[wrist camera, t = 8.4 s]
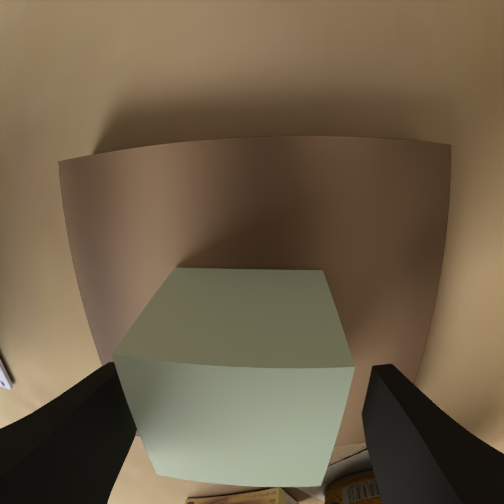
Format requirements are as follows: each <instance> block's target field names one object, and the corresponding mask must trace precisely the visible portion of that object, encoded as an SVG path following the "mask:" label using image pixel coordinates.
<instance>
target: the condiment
mask: <svg viewBox="0 0 504 504" xmlns="http://www.w3.org/2000/svg"><path fill="white" fill-rule="evenodd" d="M326 480H328V482H327V483H328V484H326V485H325V483H326ZM295 488H297V489H299V490H300V491H302V492H304V493H306V494H308V495H309V496H312V497H314V498H316V499H319V500H321V501H323V502H325V504H382V501H381V497H380V493H379V489H378V486H377V482H376V478H375V475H374V471H373V467H372V464H371V460H370V456H369V453H368V450H365V451H363V452H361V453H359V454H356V455H354V456H352V457H350V458H348V459H344V460H342V461H340V462H337V463H335V464H333V465H331V466H328V467H327V470H326V473H325V476H324V478H323V481H322V484H321V486H310V487H295Z"/></svg>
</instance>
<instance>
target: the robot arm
mask: <svg viewBox="0 0 504 504" xmlns="http://www.w3.org/2000/svg"><path fill="white" fill-rule="evenodd" d="M0 386H2V387H4V388H7V389H11V388H12V387H13V384H12V382H11V380H10V378H9V376H8V374H7V372H6V370H5V367H4V365H3V363H2V361H1V359H0ZM362 421H363V428H364V435H365V441H366V445H367V449H368V453H369V456H370V460H371V464H372V467H373V471H374V475H375V478H376V482H377V486H378V489H379V493H380V497H381V501H382V504H504V454H503V453H501V452H500V451H498V450H496V449H494V448H493V447H491V446H490V445H488V444H486V443H485V442H483V441H482V440H480V439H479V438H477V437H476V436H474V435H473V434H471V433H470V432H469V431H467V430H466V429H465V428H463V427H462V426H461V425H459V424H458V423H457V422H456V421H454V420H453V419H452V418H451V417H449V416H448V415H447V414H446V413H445V412H443V411H442V410H441V409H440V408H439V407H438V406H437V405H435V404H434V403H433V402H432V401H431V400H430V399H429V398H428V397H427V396H426V395H425V394H423V393H422V392H421V391H420V390H419V389H418V388H417V387H416V386H415V385H414V384H413V383H412V382H411V381H410V380H409V379H408V378H407V377H406V376H405V375H404V374H403V373H401V372H400V371H399V370H398V369H397V368H396V367H395V366H394V365H393V364H383V365H374V366H372V369H371V374H370V379H369V384H368V388H367V393H366V397H365V401H364V406H363V410H362ZM136 431H137V427H136V424H135V422H134V419H133V417H132V414H131V411H130V408H129V406H128V403H127V400H126V397H125V394H124V391H123V388H122V385H121V382H120V379H119V376H118V373H117V370H116V367H115V363H114V362H108V363H107V364H105V365H103V366H102V367H100V368H99V369H97V370H96V371H94V372H93V373H91V374H90V375H89V376H87V377H86V378H84V379H83V380H82V381H80V382H79V383H77V384H76V385H74V386H73V387H71V388H70V389H69V390H67V391H66V392H64V393H63V394H61V395H60V396H58V397H57V398H55V399H54V400H52V401H50V402H49V403H47V404H46V405H44V406H42V407H41V408H39V409H38V410H36V411H34V412H33V413H31V414H29V415H27V416H26V417H24V418H22V419H20V420H18V421H16V422H14V423H12V424H10V425H8V426H5V427H3V428H1V429H0V504H107V502H108V499H109V496H110V493H111V491H112V488H113V486H114V483H115V481H116V479H117V477H118V474H119V472H120V470H121V467H122V465H123V463H124V461H125V458H126V456H127V454H128V452H129V449H130V447H131V445H132V442H133V440H134V438H135V435H136Z"/></svg>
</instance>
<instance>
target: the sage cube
mask: <svg viewBox="0 0 504 504" xmlns="http://www.w3.org/2000/svg"><path fill="white" fill-rule="evenodd" d="M112 357H113V360H114V363H115V367H116V370H117V373H118V376H119V379H120V382H121V385H122V388H123V391H124V394H125V397H126V400H127V403H128V406H129V408H130V411H131V414H132V417H133V419H134V422H135V424H136V427H137V430H138V432H139V435H140V437H141V439H142V442H143V444H144V447H145V449H146V451H147V454H148V456H149V458H150V460H151V463H152V465H153V467H154V469H155V471H156V474H157V475H161V476H166V477H172V478H178V479H184V480H191V481H198V482H206V483H215V484H225V485H238V486H255V487H310V486H321V484H322V481H323V478H324V476H325V473H326V470H327V467H328V464H329V461H330V457H331V454H332V451H333V448H334V445H335V441H336V438H337V435H338V431H339V428H340V424H341V421H342V417H343V414H344V410H345V406H346V402H347V398H348V394H349V390H350V386H351V382H352V378H353V374H354V369H355V365H354V362H353V359H352V355H351V352H350V349H349V346H348V343H347V340H346V337H345V334H344V331H343V327H342V324H341V321H340V318H339V315H338V312H337V309H336V307H335V304H334V301H333V298H332V295H331V292H330V289H329V286H328V283H327V281H326V278H325V275H324V272H323V270H269V269H217V268H178V267H175V268H174V269H173V270H172V272H171V273H170V274H169V276H168V277H167V278H166V280H165V281H164V282H163V284H162V285H161V286H160V288H159V289H158V290H157V292H156V293H155V295H154V296H153V297H152V299H151V300H150V301H149V303H148V304H147V305H146V307H145V308H144V310H143V311H142V312H141V314H140V315H139V317H138V318H137V319H136V321H135V322H134V323H133V325H132V326H131V328H130V329H129V331H128V332H127V333H126V335H125V336H124V338H123V339H122V340H121V342H120V343H119V345H118V346H117V348H116V349H115V350H114V352H113V353H112Z"/></svg>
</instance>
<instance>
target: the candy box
mask: <svg viewBox="0 0 504 504" xmlns="http://www.w3.org/2000/svg"><path fill="white" fill-rule="evenodd" d="M185 504H299V503H298V502H297V501H296V500H294V499H293V498H292V497H291V496H290V495H289V494H287V493H286V492H285V491H284V490H283V489H282V488H281V487H276V488H272V489H267V490H262V491H256V492H250V493H243V494H236V495H229V496H219V497H208V498H187V500H186V501H185Z"/></svg>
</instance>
